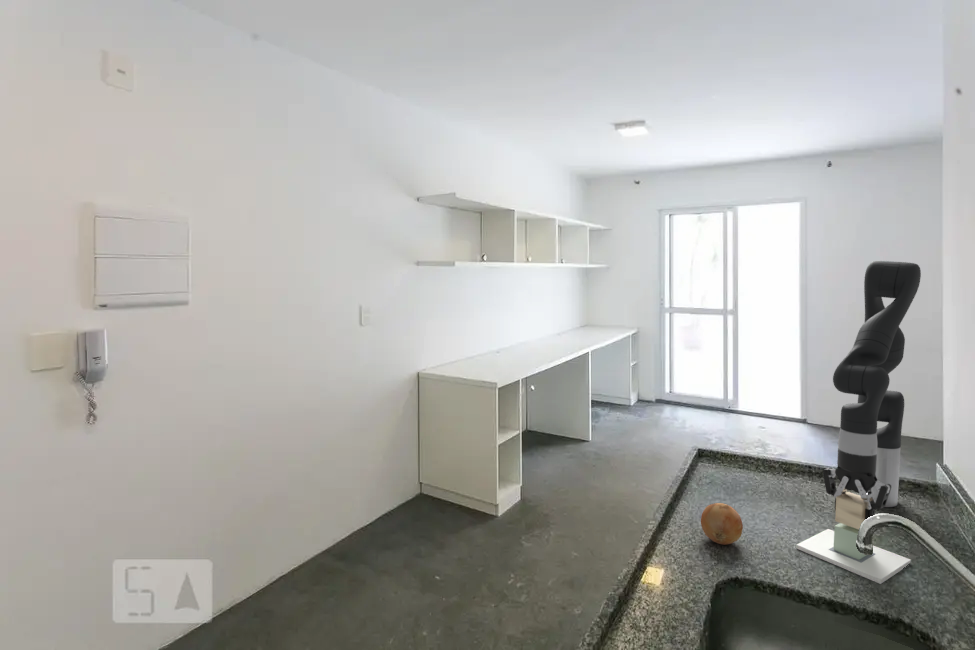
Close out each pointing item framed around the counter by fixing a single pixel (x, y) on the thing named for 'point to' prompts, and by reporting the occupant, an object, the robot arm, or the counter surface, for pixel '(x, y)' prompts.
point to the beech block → (850, 510)
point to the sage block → (846, 540)
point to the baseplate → (869, 566)
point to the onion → (721, 523)
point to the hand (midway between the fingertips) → (853, 518)
